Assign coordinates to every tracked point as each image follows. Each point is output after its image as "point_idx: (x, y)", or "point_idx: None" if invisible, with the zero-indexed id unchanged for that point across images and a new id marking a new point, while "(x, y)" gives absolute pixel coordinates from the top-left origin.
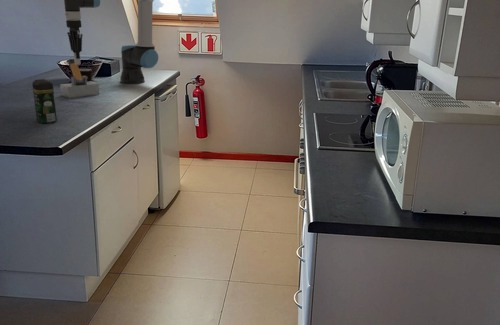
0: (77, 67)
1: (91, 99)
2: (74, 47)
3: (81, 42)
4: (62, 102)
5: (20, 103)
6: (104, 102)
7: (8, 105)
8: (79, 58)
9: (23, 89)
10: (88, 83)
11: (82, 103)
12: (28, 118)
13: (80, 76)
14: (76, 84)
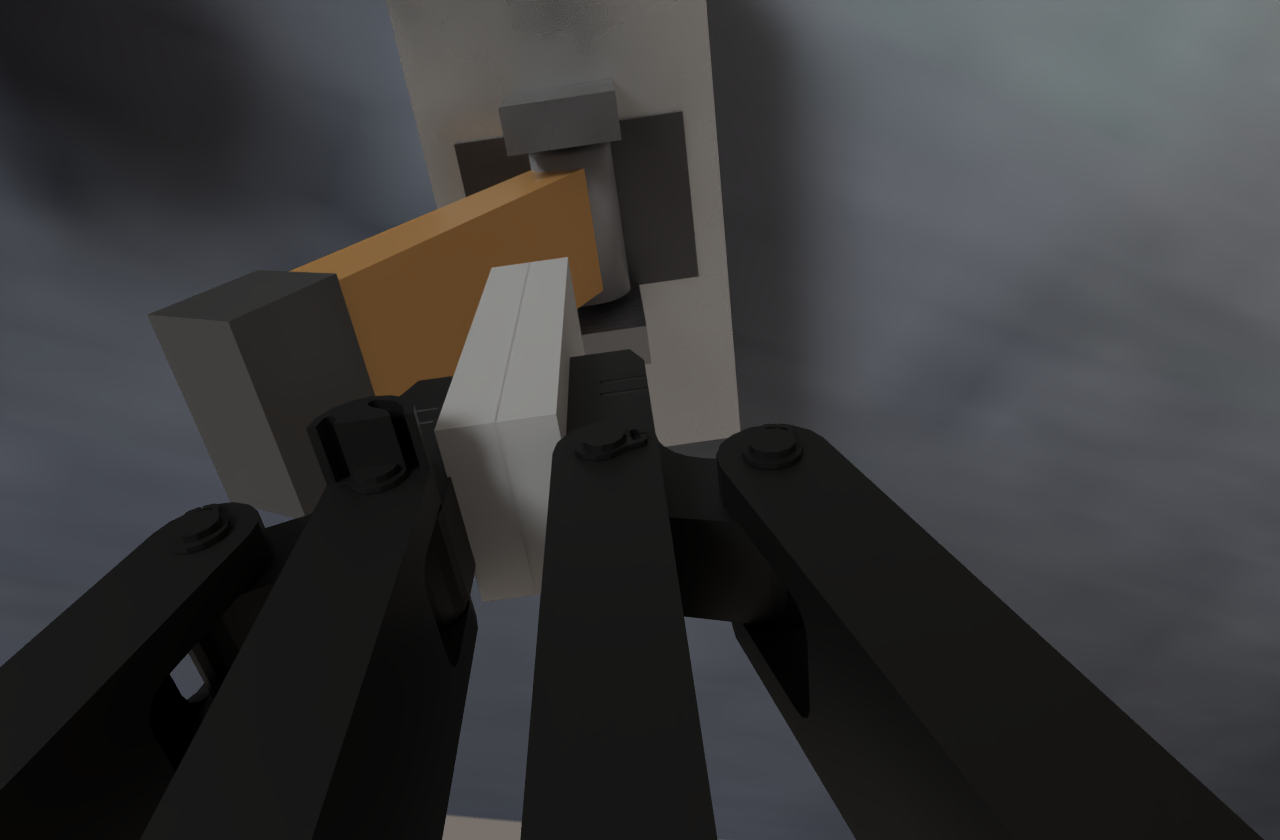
0: (431, 270)
1: (952, 148)
2: (441, 713)
3: (1203, 817)
4: (887, 480)
5: (708, 755)
6: (1228, 59)
7: (732, 821)
8: (631, 359)
9: (13, 646)
10: (603, 46)
11: (1074, 322)
12: (1217, 781)
13: (558, 205)
14: (634, 280)
